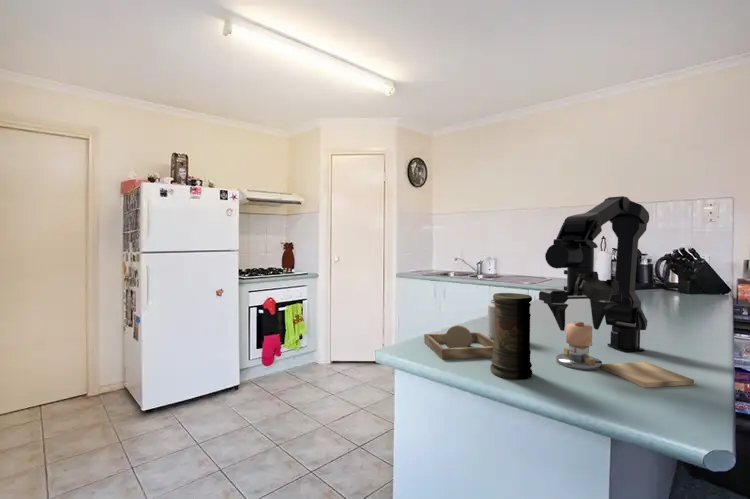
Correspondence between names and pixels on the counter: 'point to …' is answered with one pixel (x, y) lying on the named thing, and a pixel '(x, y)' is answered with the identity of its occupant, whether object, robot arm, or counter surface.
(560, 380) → the counter surface
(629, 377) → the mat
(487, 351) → the coaster frame
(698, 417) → the counter surface
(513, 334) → the container
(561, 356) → the metal flange
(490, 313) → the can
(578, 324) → the cap
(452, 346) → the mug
